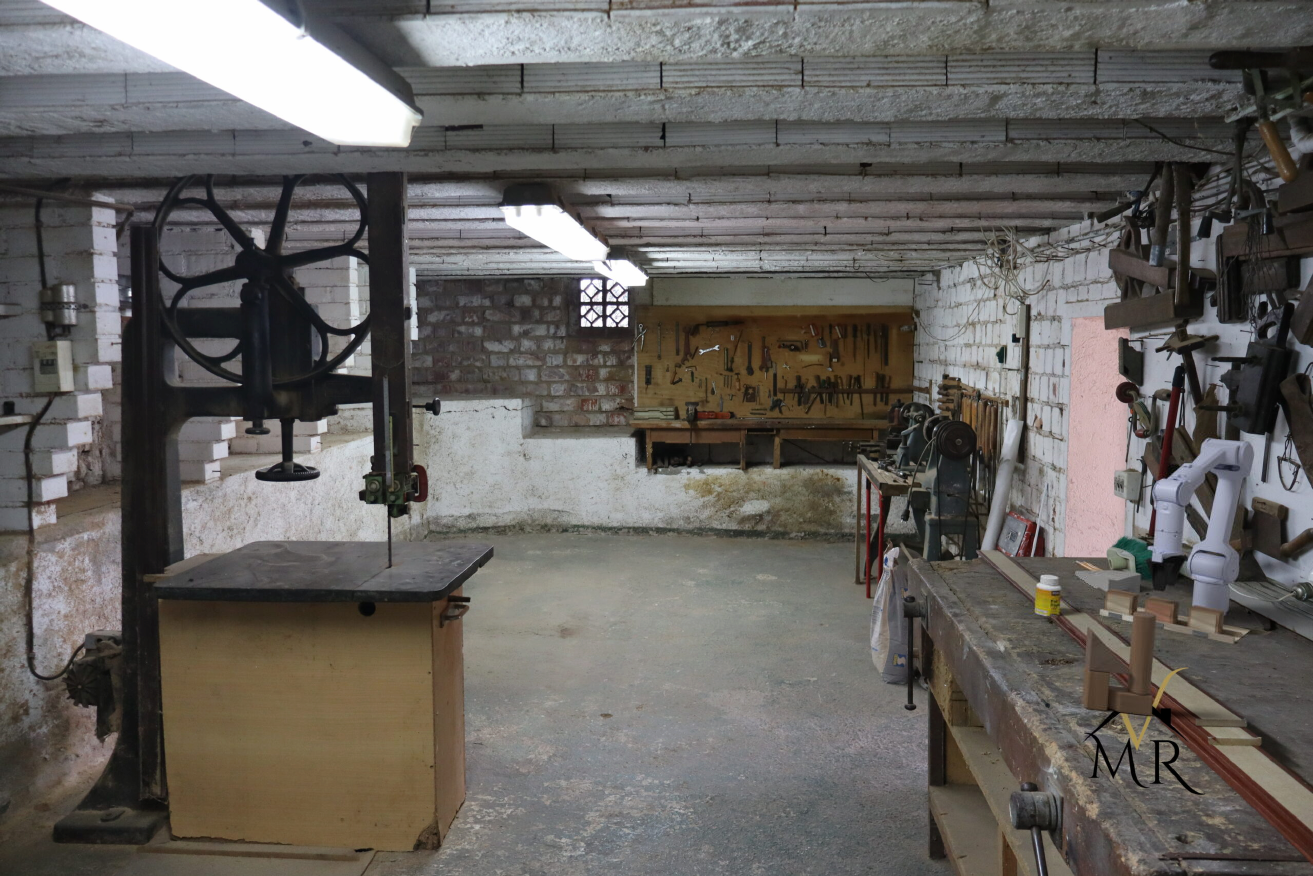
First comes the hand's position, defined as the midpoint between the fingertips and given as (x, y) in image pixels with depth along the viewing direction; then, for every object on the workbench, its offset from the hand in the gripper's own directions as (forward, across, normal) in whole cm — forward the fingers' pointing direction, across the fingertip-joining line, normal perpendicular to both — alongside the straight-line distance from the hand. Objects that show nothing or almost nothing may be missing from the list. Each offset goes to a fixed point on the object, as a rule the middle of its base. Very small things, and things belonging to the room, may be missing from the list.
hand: (1164, 587), depth 209 cm
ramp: (+11, -33, -24) cm, 42 cm away
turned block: (+9, 0, 0) cm, 9 cm away
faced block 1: (+9, 0, -9) cm, 12 cm away
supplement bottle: (+10, +13, -22) cm, 27 cm away
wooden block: (+10, +61, +10) cm, 62 cm away
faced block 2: (+9, 0, +9) cm, 12 cm away
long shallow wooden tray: (+10, -4, +2) cm, 11 cm away
